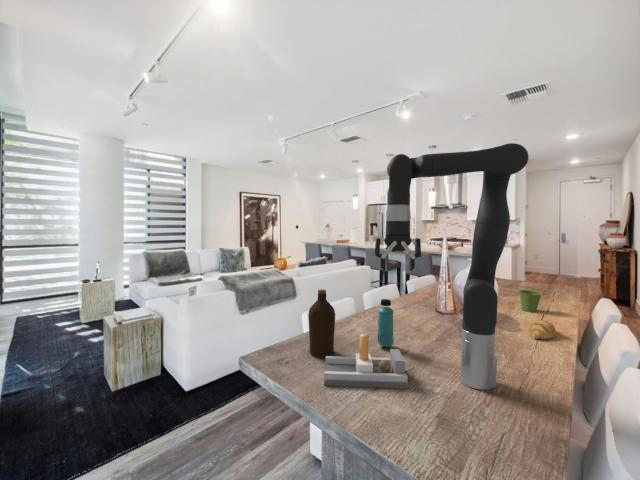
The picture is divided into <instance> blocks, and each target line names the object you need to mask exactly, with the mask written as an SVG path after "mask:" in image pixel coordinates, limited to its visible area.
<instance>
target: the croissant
mask: <svg viewBox="0 0 640 480" xmlns="http://www.w3.org/2000/svg"><path fill="white" fill-rule="evenodd" d="M528 330H529V333H530V334H531V336H532V338H533V339H535V340H547V339H549V340H550V339H555V338H554V337H555V335H556V327H555V326H554V324H553V323H552V322H549V321H548V320H543V319H541V320H534V321H532V322H530V323H529V324H528Z"/></svg>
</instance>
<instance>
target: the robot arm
mask: <svg viewBox="0 0 640 480" xmlns="http://www.w3.org/2000/svg"><path fill="white" fill-rule="evenodd" d="M528 162H529V152H528V150H527V148H525V146H523V145H522V144H519V143H514V142H513V143H512V142H511V143H510V142H509V143H505V144H502V145H499V146H494V147H490V148H485V149H479V150H478V149H477V150H471V151H470V150H469V151H458V152H457V151H456V152H438V153H427V154H422V155H420V156H417V157H409V155H406V154H404V153H399V154H396V155H394V156H393V157H391V159H390V160H389V163H388V164H387V167H386V173H387V175H388V189H387V195H386V201H387V202H386V212H385V237H384V238H380V237H376V238H375V244H374V256H375V257H377V258H379V259H380V260H379V261H380V265H379V267H380V269H382V271H386V267H387V266H386V263H387V262H386V257H387V255H388V254H390V252H395V253H397V252H400V253H402V252H405V253H406V255H407V256H408V257H409V258H408V271H409V272H412V271H414V269H415V267H416V263H415V261H416V259H417V258H421V257H422V245H421V244H422V243H421V242H422V241H421V238H418V237H415V238H412V237H411V219H412V216H411V191H410V190H411V184H412V180H413V179H418V178H436V177H437V178H438V177H447V176H454V175H460V174H467V173H475V172H476V173H478V172H483V174H482V176H483V177H482V187H481V188H482V189H481V195H480V200H479V203H478V208H477V214H476V218H475V225H474V230H473V237H472V238H473V239H472V247H471V262H470V266H469V267H470V268H469V270H468V274H467V278H466V280H465V284H464V286H463V291H462V293H463V294H462V295H463V303H462V304H463V306H462V307H463V308H462V325H461V326H462V328H461V332H462V333H461V361H460V363H461V364H460V381H461V383H463V385H465V386H467V387H469V388H473V389H475V390H479V391H480V390H481V391H488V390H489V391H490V390H491V389H496V388H497V375H498V374H497V372H498V371H497V369H498V357H497V356H495V346H496V345H495V341H496V325H497V322H498V321H497V319H498V305H499V304H498V302H499V301H498V300H499V299H498V294H497V291H496V289H495V283H496V282H495V279H496V271H497V266H498V263H499V261H500V258H501V257H502V253H503V251H504V249H505V246H506V242H507V239H508V236H509V235H508V234H509V229H510V224H511V223H510V222H511V214H510V209H509V208H510V207H509V205H508V198H507V197H508V195H507V194H508V187H509V182H510V180H511V179H510V178H511V176H512V175H515V174H516V173H519V172H520V171H522V170H523V169H524V168H525V167H526V166H527V164H528ZM384 243H385V245H386V247H385V248H384V250H383V251H382V252H381V253H380V251H381V245H383V244H384ZM411 243H412V245H413V246H414V253H413V251H412V250H411V248H410V247H409V246H410V245H411Z"/></svg>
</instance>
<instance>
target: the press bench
mask: <svg viewBox="0 0 640 480" xmlns="http://www.w3.org/2000/svg"><path fill="white" fill-rule="evenodd" d="M371 359H372V363H373V373H366V372H356V364H355V362H356V356H341V355H340V356H339V355H337V356H335V355H331V356H326V357H325V364H324V365H325V367H324V371H323V373H324V374H323V377H324V378H323V382H324V383H323V386H328V387H329V386H330V387H331V386H333V387H354V388H355V387H356V388H358V387H359V388H360V387H361V388H381V389H382V388H383V389H384V388H385V389H408V388H409V383H408V377H409V376H408V374H407V373H405V372H406V371H405V370H406V367H405V366H406V361H405V358H404V356H403V355H402V353H401V351H400V349H398V348H397V349H395V348H390V351H389V357H372V356H371ZM382 360H387V361H389V362H390V364H391V369H390V371H389V372H387V373H384V372H382V371H381V370H380V369H379V363H380V361H382Z"/></svg>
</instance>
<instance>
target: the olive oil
mask: <svg viewBox="0 0 640 480" xmlns="http://www.w3.org/2000/svg"><path fill="white" fill-rule="evenodd" d="M307 316H308V334H309V335H308V336H309V339H308V340H309V354H310V355H311V356H312V357H315V358H326V356H333V354H334V349H335V348H334V346H335V329H336V328H335V325H336V310H335V309H334V306H333V305H332V304H331V303H330V302H329V301H328V300H327V290H326V289H322V288H321V289H318V290H317V299H316V301H315V302H314V303H313V304H312V305H311V306H310V308H309V310H308V314H307Z"/></svg>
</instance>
